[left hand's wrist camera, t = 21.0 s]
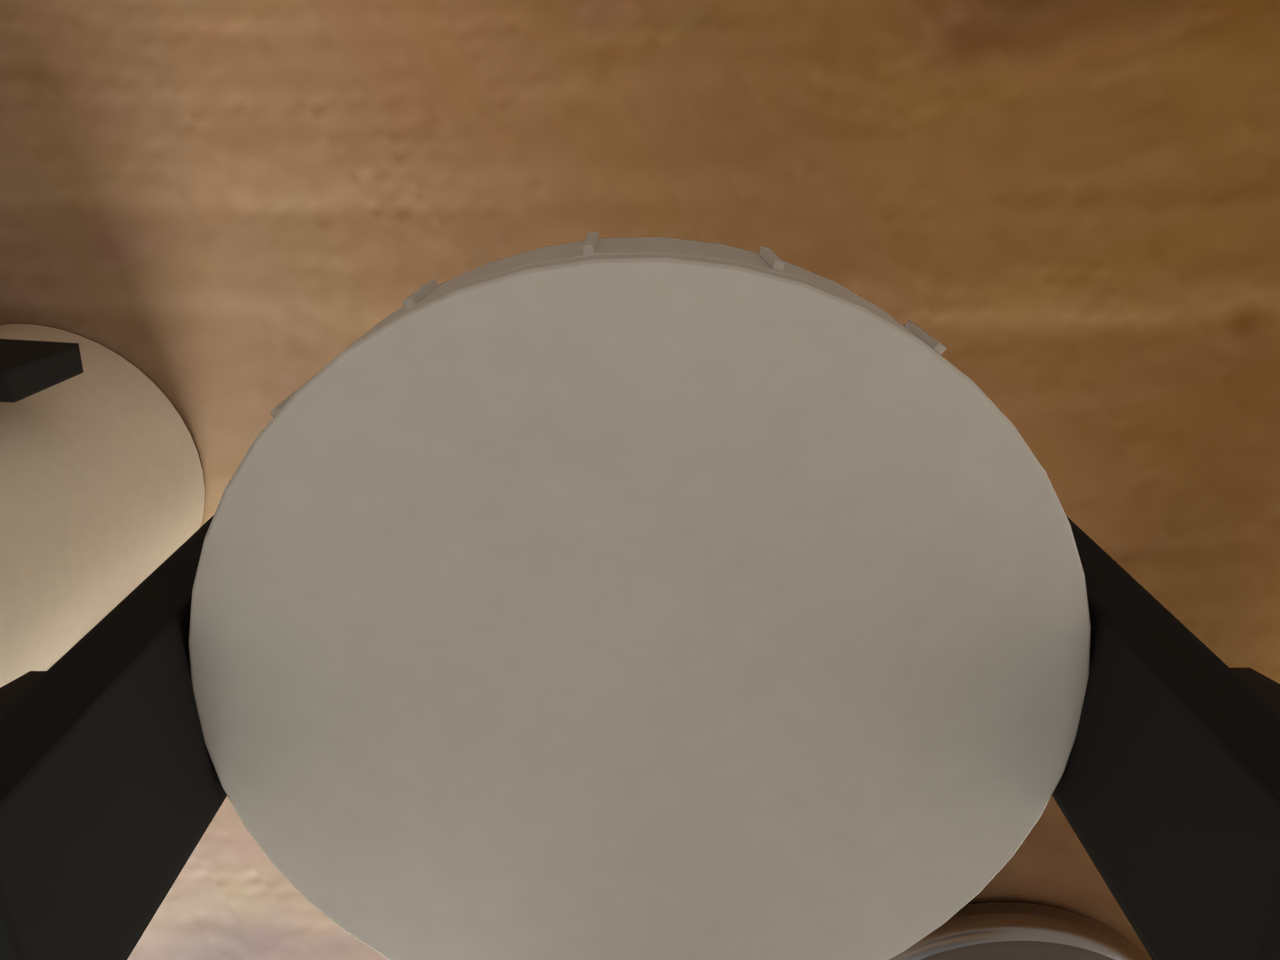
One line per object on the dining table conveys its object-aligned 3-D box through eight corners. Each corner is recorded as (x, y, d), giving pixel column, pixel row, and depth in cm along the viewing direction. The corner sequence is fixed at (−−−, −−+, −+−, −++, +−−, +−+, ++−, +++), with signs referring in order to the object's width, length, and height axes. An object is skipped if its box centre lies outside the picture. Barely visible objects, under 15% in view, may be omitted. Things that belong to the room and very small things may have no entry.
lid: (1164, 320, 10) (1256, 355, 9) (908, 967, 14) (940, 1071, 13) (256, 150, 10) (183, 157, 8) (240, 877, 14) (189, 976, 12)
